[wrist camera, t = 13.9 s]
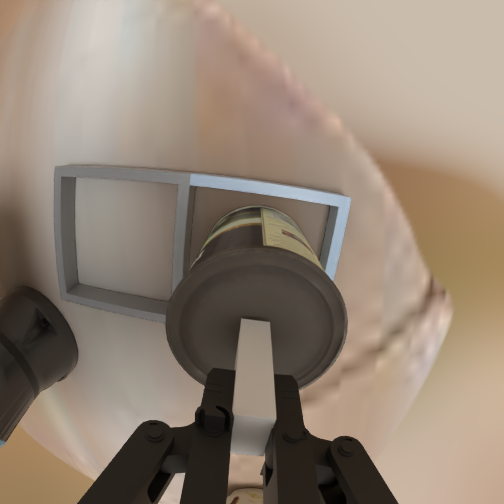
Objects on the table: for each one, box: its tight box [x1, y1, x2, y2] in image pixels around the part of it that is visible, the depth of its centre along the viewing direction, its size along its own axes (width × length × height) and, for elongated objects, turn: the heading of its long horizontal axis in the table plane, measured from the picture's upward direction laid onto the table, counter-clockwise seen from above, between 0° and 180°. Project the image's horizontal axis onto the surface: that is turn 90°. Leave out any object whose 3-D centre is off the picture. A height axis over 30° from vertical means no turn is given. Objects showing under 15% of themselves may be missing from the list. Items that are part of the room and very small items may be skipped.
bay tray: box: [54, 165, 351, 323], centre depth 27 cm, size 29×15×3 cm, turn 82°
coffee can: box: [165, 205, 348, 390], centre depth 22 cm, size 10×10×14 cm
